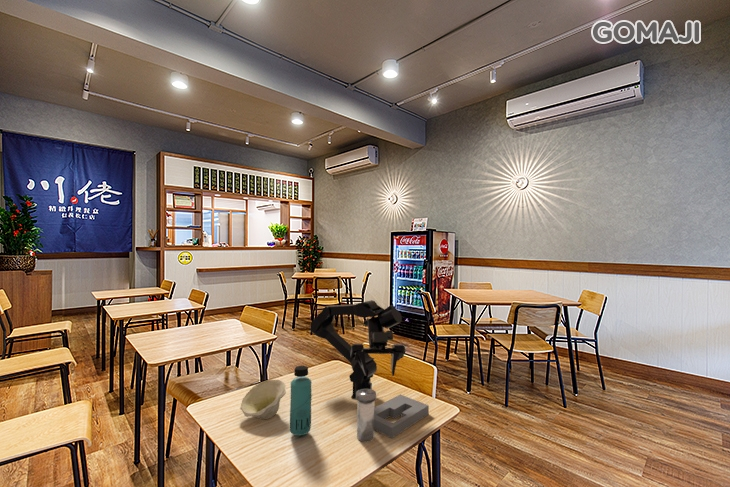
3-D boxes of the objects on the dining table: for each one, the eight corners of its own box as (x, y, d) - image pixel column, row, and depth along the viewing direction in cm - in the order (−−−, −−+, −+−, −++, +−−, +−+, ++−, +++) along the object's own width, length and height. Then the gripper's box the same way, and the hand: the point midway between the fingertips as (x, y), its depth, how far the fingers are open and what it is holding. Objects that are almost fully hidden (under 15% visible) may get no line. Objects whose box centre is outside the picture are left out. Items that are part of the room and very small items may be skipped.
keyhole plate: (391, 438, 97) (391, 428, 98) (362, 423, 106) (362, 413, 106) (428, 414, 112) (428, 405, 112) (400, 402, 120) (400, 394, 120)
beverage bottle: (292, 443, 94) (293, 372, 95) (286, 431, 100) (287, 365, 100) (314, 437, 97) (315, 369, 98) (307, 426, 103) (308, 362, 103)
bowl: (231, 416, 109) (232, 385, 109) (269, 402, 119) (270, 374, 119) (255, 434, 99) (255, 400, 99) (294, 417, 109) (294, 386, 109)
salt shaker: (353, 441, 96) (353, 396, 96) (357, 430, 101) (358, 387, 102) (373, 444, 94) (374, 398, 95) (377, 433, 100) (377, 389, 100)
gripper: (353, 320, 114) (354, 365, 103) (405, 322, 116) (412, 365, 106) (349, 336, 122) (350, 379, 111) (399, 337, 124) (404, 379, 114)
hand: (379, 375), depth 110 cm, fingers open, 9 cm apart
